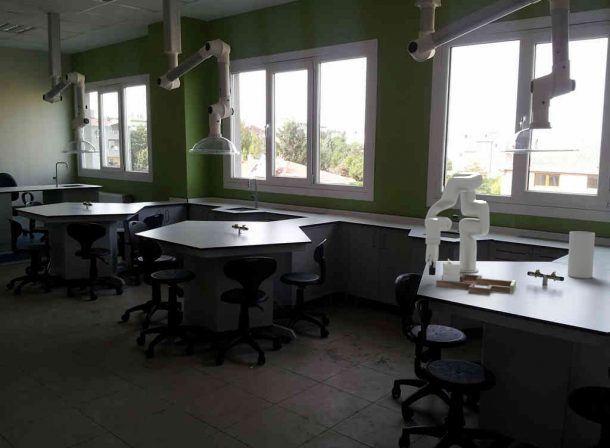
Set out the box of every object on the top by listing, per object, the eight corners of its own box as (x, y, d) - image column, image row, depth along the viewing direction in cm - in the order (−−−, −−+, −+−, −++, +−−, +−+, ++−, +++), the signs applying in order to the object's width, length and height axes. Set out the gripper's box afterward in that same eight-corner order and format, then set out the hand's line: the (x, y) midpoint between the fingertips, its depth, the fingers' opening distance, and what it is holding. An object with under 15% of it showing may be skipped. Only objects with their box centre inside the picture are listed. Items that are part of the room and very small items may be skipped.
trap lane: (445, 277, 295) (445, 270, 295) (516, 284, 279) (517, 276, 279) (433, 289, 268) (433, 281, 267) (511, 297, 251) (512, 288, 251)
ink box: (459, 286, 274) (460, 261, 273) (443, 285, 276) (443, 260, 274) (458, 283, 282) (459, 258, 281) (442, 282, 284) (442, 257, 283)
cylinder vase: (591, 275, 300) (593, 232, 298) (593, 279, 289) (595, 234, 286) (567, 273, 306) (569, 230, 303) (567, 277, 294) (570, 233, 292)
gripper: (429, 239, 289) (428, 271, 291) (422, 242, 276) (421, 276, 278) (442, 239, 286) (442, 273, 288) (436, 243, 273) (436, 278, 275)
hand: (432, 274), depth 283 cm, fingers closed
